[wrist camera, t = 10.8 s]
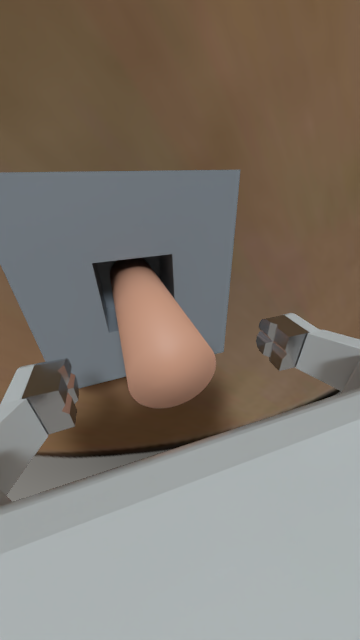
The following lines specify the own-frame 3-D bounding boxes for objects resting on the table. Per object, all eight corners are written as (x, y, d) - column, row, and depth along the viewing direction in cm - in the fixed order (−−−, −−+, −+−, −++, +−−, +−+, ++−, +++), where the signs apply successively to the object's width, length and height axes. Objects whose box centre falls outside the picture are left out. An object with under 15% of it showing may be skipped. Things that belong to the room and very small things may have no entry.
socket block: (205, 175, 17) (240, 169, 13) (202, 325, 24) (223, 351, 20) (0, 179, 13) (-43, 173, 9) (67, 353, 21) (60, 393, 17)
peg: (150, 253, 18) (218, 328, 8) (154, 292, 19) (213, 394, 10) (105, 258, 17) (119, 350, 7) (114, 299, 19) (135, 418, 9)
